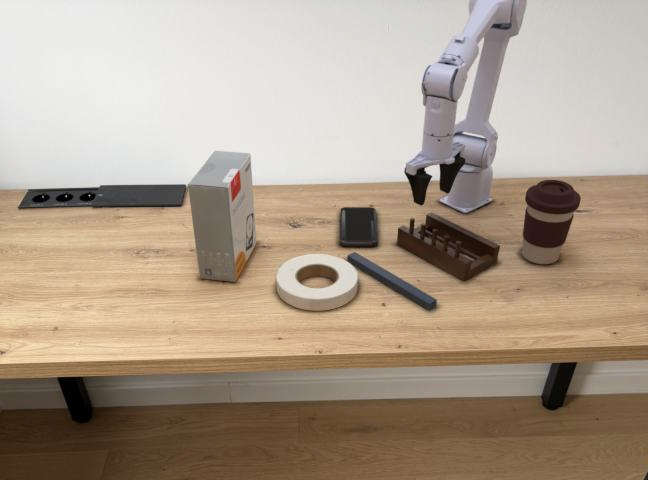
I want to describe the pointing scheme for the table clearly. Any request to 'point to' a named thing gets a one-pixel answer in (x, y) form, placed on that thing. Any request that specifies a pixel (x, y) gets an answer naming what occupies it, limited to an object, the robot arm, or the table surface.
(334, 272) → the tape roll
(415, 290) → the rail
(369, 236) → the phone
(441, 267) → the rack
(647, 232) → the table surface
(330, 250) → the table surface
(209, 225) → the hard drive box
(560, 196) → the coffee cup
